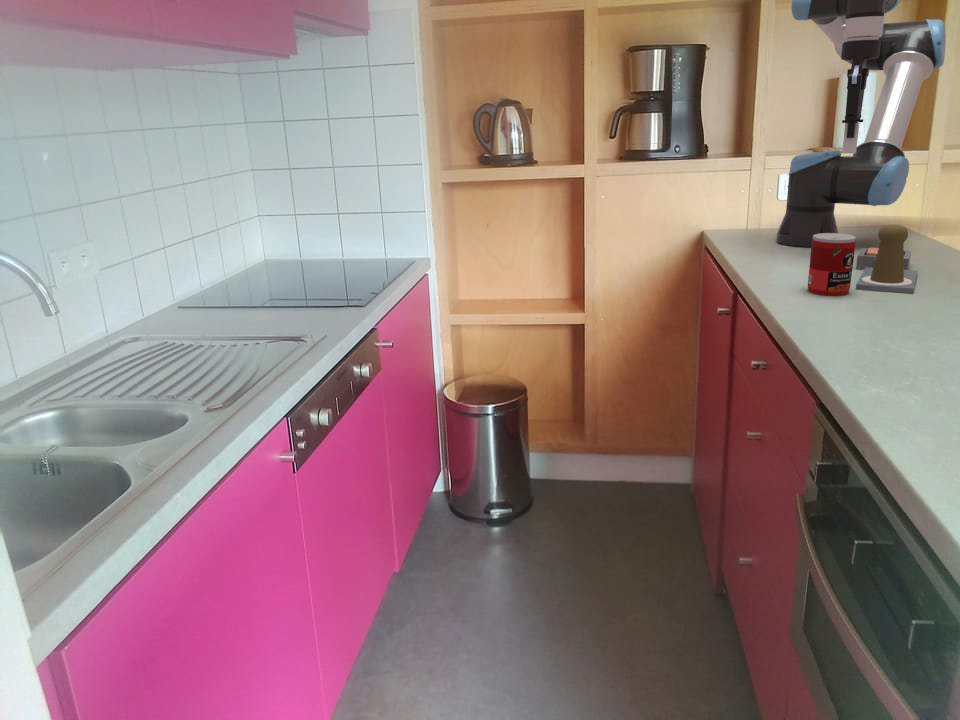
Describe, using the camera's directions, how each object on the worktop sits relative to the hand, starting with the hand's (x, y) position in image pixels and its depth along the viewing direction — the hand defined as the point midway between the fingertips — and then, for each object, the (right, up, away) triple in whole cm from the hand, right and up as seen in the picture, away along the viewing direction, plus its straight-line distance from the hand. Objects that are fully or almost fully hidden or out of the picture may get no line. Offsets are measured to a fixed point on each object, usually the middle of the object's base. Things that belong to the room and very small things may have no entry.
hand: (849, 153), depth 172 cm
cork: (-1, -31, -17) cm, 35 cm away
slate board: (+1, -30, -14) cm, 34 cm away
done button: (+7, -25, -1) cm, 26 cm away
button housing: (+7, -26, 0) cm, 27 cm away
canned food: (-14, -33, -20) cm, 41 cm away
